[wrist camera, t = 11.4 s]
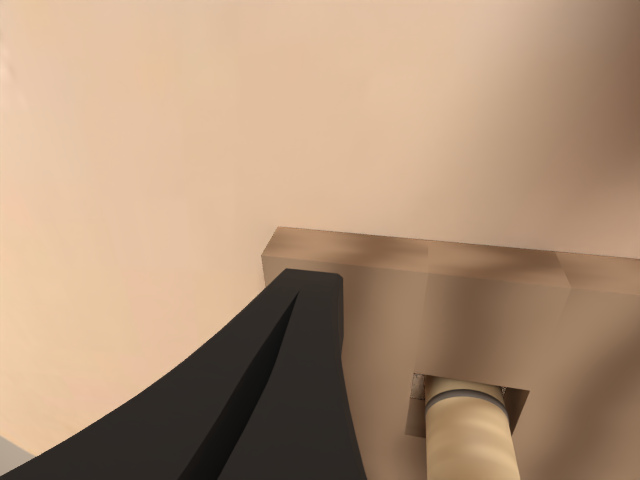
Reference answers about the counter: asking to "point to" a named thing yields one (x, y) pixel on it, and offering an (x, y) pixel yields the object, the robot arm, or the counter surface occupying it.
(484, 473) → the oak peg
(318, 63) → the counter surface
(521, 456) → the hole board
